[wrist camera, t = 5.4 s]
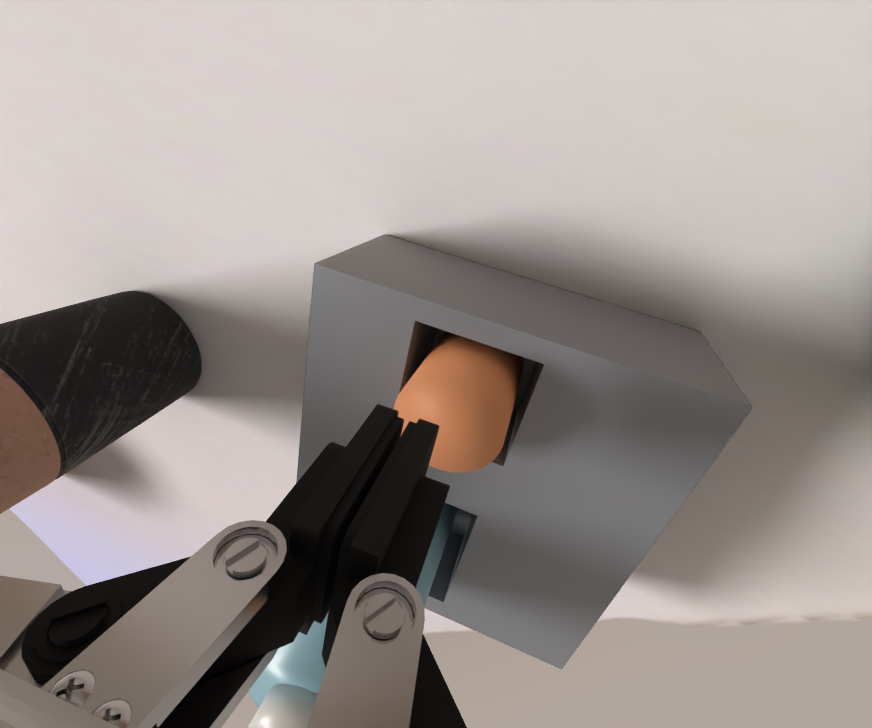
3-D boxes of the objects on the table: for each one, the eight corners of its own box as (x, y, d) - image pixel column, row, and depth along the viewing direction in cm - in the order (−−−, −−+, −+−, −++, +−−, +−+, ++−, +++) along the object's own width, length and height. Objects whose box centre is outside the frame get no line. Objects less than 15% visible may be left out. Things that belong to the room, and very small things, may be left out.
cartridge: (392, 429, 22) (220, 681, 11) (474, 461, 21) (372, 760, 11) (379, 490, 24) (225, 749, 13) (453, 520, 23) (350, 817, 13)
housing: (384, 234, 19) (314, 263, 14) (701, 331, 17) (752, 407, 12) (346, 472, 27) (291, 548, 22) (565, 561, 25) (561, 669, 19)
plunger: (446, 308, 17) (404, 357, 13) (536, 337, 16) (521, 398, 12) (427, 384, 18) (384, 448, 14) (507, 412, 18) (486, 488, 14)
